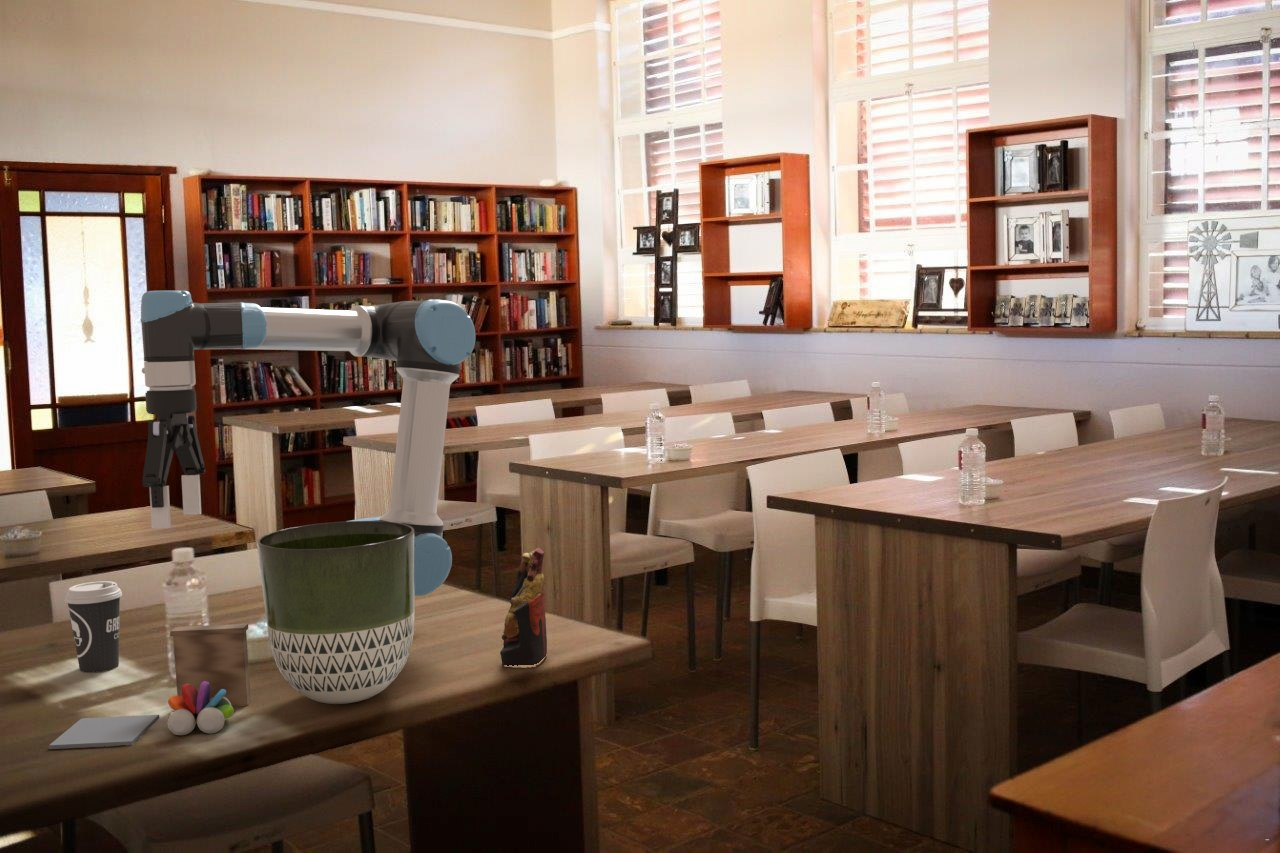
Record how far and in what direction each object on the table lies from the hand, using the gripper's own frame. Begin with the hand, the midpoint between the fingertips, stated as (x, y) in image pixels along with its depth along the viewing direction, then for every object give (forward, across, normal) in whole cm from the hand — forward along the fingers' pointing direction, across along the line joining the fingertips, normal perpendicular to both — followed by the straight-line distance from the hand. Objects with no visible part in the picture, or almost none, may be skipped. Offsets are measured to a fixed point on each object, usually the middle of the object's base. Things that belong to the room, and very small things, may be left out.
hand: (177, 521), depth 201 cm
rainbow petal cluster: (+30, +11, +6) cm, 33 cm away
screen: (+30, +1, +5) cm, 30 cm away
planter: (+30, -1, +26) cm, 39 cm away
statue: (+29, -18, +53) cm, 63 cm away
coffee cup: (+30, -24, -24) cm, 45 cm away
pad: (+30, +13, -8) cm, 34 cm away
